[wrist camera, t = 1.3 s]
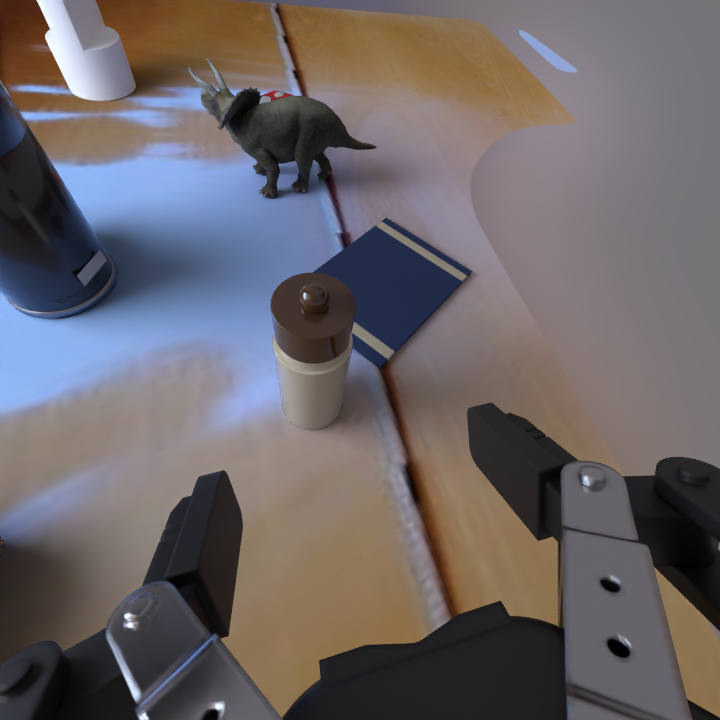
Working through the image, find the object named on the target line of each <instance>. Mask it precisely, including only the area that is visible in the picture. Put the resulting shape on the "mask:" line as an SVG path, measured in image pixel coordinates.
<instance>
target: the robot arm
mask: <svg viewBox="0 0 720 720" xmlns="http://www.w3.org/2000/svg"><path fill="white" fill-rule="evenodd" d="M116 275H117V272H116V267H115V264H114V263H113V261H112V259H111V258H110V256H109V255H108V254H107V253H106V252H105V250H104V248H103V247H102V245H101V243H100V242H99V240H98V239H97V237H96V235H95V233H94V232H93V230H92V228H91V227H90V225H89V223H88V222H87V220H86V218H85V217H84V215H83V214H82V212H81V210H80V209H79V207H78V205H77V204H76V202H75V200H74V199H73V197H72V196H71V194H70V192H69V191H68V189H67V187H66V186H65V184H64V182H63V181H62V179H61V178H60V176H59V174H58V173H57V171H56V169H55V168H54V166H53V164H52V163H51V161H50V160H49V158H48V156H47V155H46V153H45V151H44V150H43V148H42V146H41V145H40V143H39V142H38V140H37V138H36V137H35V135H34V133H33V132H32V130H31V128H30V127H29V125H28V124H27V122H26V120H25V119H24V117H23V116H22V114H21V113H20V111H19V109H18V108H17V106H16V104H15V103H14V101H13V100H12V98H11V96H10V95H9V93H8V91H7V90H6V88H5V86H4V85H3V83H2V82H1V80H0V292H1V293H2V294H3V295H4V296H5V298H6V299H7V300H8V302H9V303H11V304H12V305H13V306H14V307H15V308H16V309H17V310H19V311H20V312H22V313H24V314H27V315H30V316H33V317H39V318H58V317H64V316H69V315H73V314H76V313H79V312H81V311H84V310H86V309H88V308H90V307H92V306H93V305H95V304H97V303H98V302H99V301H101V300H102V299H103V298H104V297H105V296H106V295H107V294H108V293H109V292H110V290H111V289H112V287H113V285H114V283H115V281H116ZM467 418H468V432H469V446H470V452H471V455H472V458H473V460H474V462H475V464H476V465H477V467H478V468H479V469H480V470H481V471H482V473H483V474H484V475H485V476H486V478H487V479H488V480H489V481H490V483H491V484H492V485H493V486H494V487H495V489H496V490H497V491H498V492H499V494H500V495H501V496H502V497H503V498H504V500H505V501H506V502H507V503H508V505H509V506H510V507H511V508H512V509H513V511H514V512H515V513H516V514H517V516H518V517H519V518H520V519H521V520H522V522H523V523H524V524H525V525H526V527H527V528H528V529H529V530H530V532H531V533H532V534H533V535H534V536H535V538H536V539H537V540H538V541H539V540H543V539H546V538H549V537H552V536H553V537H554V538H555V539H556V541H557V542H558V626H556V625H554V624H551V623H548V622H545V621H542V620H539V619H534V618H529V617H521V616H509V614H508V612H507V611H506V609H505V607H504V605H503V604H502V602H501V601H498V602H495V603H492V604H489V605H486V606H483V607H480V608H477V609H474V610H471V611H468V612H465V613H462V614H459V615H457V616H456V617H454V618H453V619H451V620H450V621H448V622H447V623H446V624H444V625H443V626H441V627H440V628H438V629H437V630H435V631H434V632H433V633H431V634H430V635H428V636H427V637H425V638H424V639H423V640H421V641H419V642H416V643H408V644H381V645H365V646H362V647H359V648H356V649H352V650H349V651H346V652H343V653H340V654H337V655H334V656H331V657H328V658H325V659H322V660H319V663H320V675H321V679H320V680H319V681H317V682H316V683H314V684H313V685H312V686H311V687H309V688H308V689H307V690H306V691H305V692H304V693H303V694H302V695H301V696H300V697H299V698H298V699H297V700H296V701H295V702H294V703H293V704H292V706H291V707H290V708H289V710H288V711H287V712H286V714H285V715H284V716H283V717H282V718H281V717H280V715H279V714H278V713H277V712H276V710H275V709H274V708H273V706H272V705H271V704H270V703H269V701H268V700H267V699H266V697H265V696H264V695H263V694H262V692H261V691H260V690H259V688H258V687H257V686H256V685H255V683H254V682H253V681H252V679H251V678H250V677H249V676H248V674H247V673H246V672H245V670H244V669H243V668H242V667H241V665H240V664H239V663H238V661H237V660H236V659H235V658H234V656H233V655H232V654H231V652H230V651H229V650H228V649H227V647H226V646H225V645H224V643H223V642H222V641H221V640H220V638H224V637H227V636H229V628H230V620H231V613H232V605H233V598H234V590H235V583H236V575H237V568H238V560H239V553H240V545H241V538H242V530H243V522H242V514H241V510H240V507H239V504H238V501H237V499H236V496H235V493H234V491H233V488H232V485H231V482H230V480H229V477H228V475H227V473H226V471H224V470H223V471H219V472H215V473H211V474H207V475H203V476H200V477H198V479H197V482H196V485H195V488H194V490H193V493H192V496H189V497H185V498H183V499H182V500H181V501H180V502H179V503H178V505H177V506H176V507H175V508H174V509H173V510H172V512H171V513H170V516H169V519H168V521H167V524H166V526H165V528H166V529H165V530H164V531H163V534H162V536H161V542H159V544H158V547H157V549H156V552H155V554H154V557H153V559H152V562H151V564H150V567H149V569H148V572H147V575H146V577H145V580H144V582H143V585H142V587H140V588H139V589H137V590H135V591H134V592H133V593H131V594H130V595H129V596H127V597H126V598H125V599H124V600H123V601H122V602H121V603H120V604H119V605H118V607H117V608H116V609H115V610H114V612H113V613H112V615H111V617H110V618H109V621H108V623H107V626H106V628H105V629H103V630H101V631H100V632H98V633H96V634H94V635H93V636H91V637H89V638H87V639H85V640H84V641H82V642H80V643H78V644H76V645H75V646H73V647H71V648H69V649H67V650H66V651H64V652H63V651H62V649H61V648H60V647H59V645H58V644H57V643H56V642H53V641H41V642H37V643H35V644H32V645H30V646H28V647H26V648H24V649H22V650H20V651H19V652H17V653H16V654H14V655H13V656H11V657H10V658H9V659H7V660H6V661H5V662H4V663H2V664H1V665H0V720H720V718H719V717H717V716H716V715H714V714H712V713H710V712H709V711H707V710H705V709H703V708H702V707H700V706H698V705H696V704H695V703H693V702H691V701H689V700H688V699H687V697H686V693H685V689H684V685H683V681H682V677H681V673H680V669H679V665H678V661H677V657H676V653H675V650H674V646H673V642H672V638H671V634H670V630H669V626H668V622H667V618H666V614H665V610H664V606H663V602H662V598H661V594H660V590H659V586H658V582H657V578H656V574H655V570H654V567H655V568H656V569H657V570H658V571H659V572H660V573H661V574H662V575H663V576H664V577H665V578H666V579H667V580H668V581H669V582H670V583H671V584H672V585H673V586H674V587H675V588H676V589H677V590H678V591H679V592H680V593H681V594H682V595H683V596H685V597H686V598H687V599H688V600H689V601H690V602H691V603H692V604H693V605H694V606H695V607H696V608H697V609H698V610H699V611H700V612H701V613H702V614H703V615H704V616H705V617H706V618H707V619H708V620H709V621H710V622H711V623H712V624H713V625H714V626H715V627H716V628H717V629H718V630H719V631H720V551H719V550H718V545H719V542H720V469H719V468H717V467H715V466H713V465H711V464H708V463H706V462H703V461H699V460H696V459H691V458H684V457H670V458H666V459H663V460H661V461H659V462H658V464H657V465H656V471H655V476H621V475H620V474H619V473H618V472H617V471H616V470H614V469H612V468H611V467H609V466H606V465H604V464H601V463H597V462H593V461H578V460H577V459H576V458H575V457H573V456H572V455H571V454H569V453H568V452H567V451H566V450H564V449H563V448H562V447H561V446H559V445H558V444H557V443H555V442H554V441H553V440H552V439H550V438H549V437H546V435H545V434H544V433H543V432H541V431H540V430H539V429H537V428H536V427H535V426H534V425H533V424H531V423H530V422H529V421H527V420H526V419H524V418H522V417H519V416H517V415H514V414H512V413H508V414H505V413H504V412H502V411H501V410H500V409H499V408H498V407H496V406H495V405H494V404H493V403H487V404H483V405H479V406H475V407H471V408H469V409H468V412H467Z"/></svg>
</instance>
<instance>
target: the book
mask: <svg viewBox="0 0 720 720" xmlns="http://www.w3.org/2000/svg"><path fill="white" fill-rule="evenodd" d="M471 272H472V271H470V270H469V269H467V268H466V267H464V266H462V265H461V264H459V263H458V262H456V261H454V260H453V259H451V258H450V257H448V256H446V255H445V254H443V253H442V252H440V251H438V250H437V249H435V248H434V247H432V246H431V245H429V244H427V243H426V242H424V241H423V240H421V239H419V238H418V237H416V236H415V235H413V234H411V233H410V232H408V231H407V230H405V229H403V228H402V227H400V226H399V225H397V224H396V223H394V222H392V221H391V220H389V219H388V218H385V219H384V220H383V221H381V222H380V223H378V224H377V225H376V226H375V227H373V228H372V229H371V230H369V231H368V232H366V233H365V234H364V235H362V236H361V237H360V238H358V239H357V240H356V241H354V242H353V243H352V244H350V245H349V246H348V247H346V248H345V249H344V250H342V251H341V252H340V253H338V254H337V255H336V256H334V257H333V258H332V259H330V260H329V261H328V262H326V263H325V264H324V265H322V266H321V267H319V268H318V269H317V270H315V271H314V272H313V273H321V274H326V275H329V276H332V277H334V278H336V279H338V280H340V281H341V282H342V283H344V284H345V285H346V286H347V287H348V288H349V289H350V291H351V292H352V294H353V296H354V298H355V302H356V313H355V319H354V324H353V330H352V339H353V347H352V348H354V349H355V350H356V351H358V352H359V353H360V354H362V355H363V356H364V357H366V358H367V359H368V360H369V361H371V362H372V363H373V364H375V365H376V366H377V367H379V368H381V367H382V366H383V365H384V364H385V363H386V362H387V361H388V360H389V359H390V358H391V357H392V356H393V355H394V354H395V353H396V352H397V351H398V350H399V348H400V347H401V346H402V345H403V344H404V343H405V342H406V341H407V340H408V339H409V338H410V337H411V336H412V335H413V334H414V333H415V332H416V331H417V330H418V329H419V327H420V326H421V325H422V324H423V323H424V322H425V321H426V320H427V319H428V318H429V317H430V316H431V315H432V314H433V313H434V312H435V311H436V310H437V309H438V308H439V306H440V305H441V304H442V303H443V302H444V301H445V300H446V299H447V298H448V297H449V296H450V295H451V294H452V293H453V292H454V291H455V290H456V289H457V288H458V287H459V285H460V284H461V283H462V282H463V281H464V280H465V279H466V278H467V277H468V276H469V275H470V274H471Z"/></svg>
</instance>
